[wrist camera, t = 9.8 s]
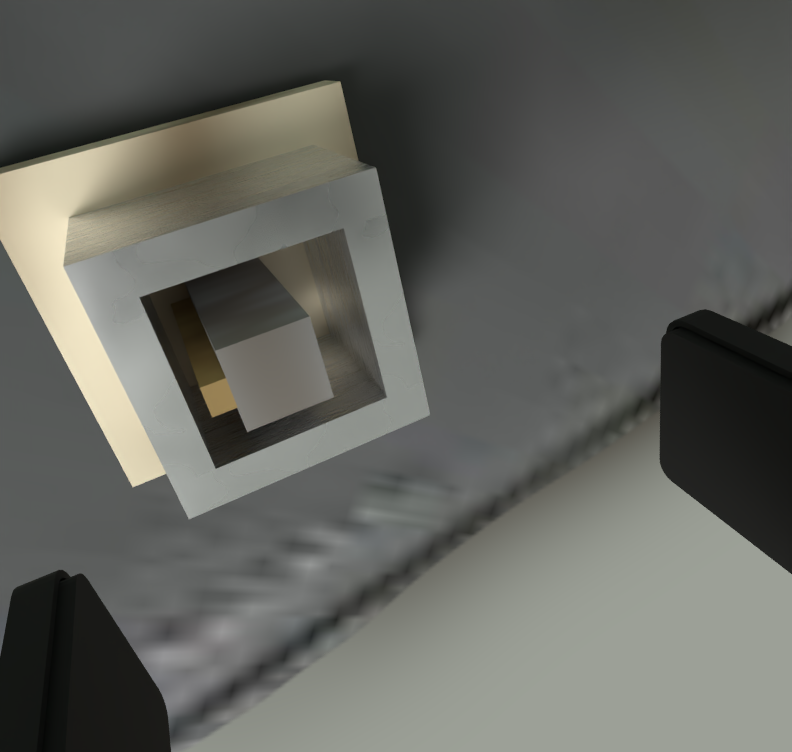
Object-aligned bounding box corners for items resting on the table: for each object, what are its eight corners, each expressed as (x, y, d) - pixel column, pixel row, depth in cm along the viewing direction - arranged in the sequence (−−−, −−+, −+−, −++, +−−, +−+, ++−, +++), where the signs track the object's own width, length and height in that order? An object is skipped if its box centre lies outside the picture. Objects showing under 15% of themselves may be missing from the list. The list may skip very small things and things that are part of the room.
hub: (313, 144, 19) (375, 167, 15) (367, 350, 23) (430, 414, 18) (68, 217, 17) (63, 266, 13) (168, 428, 21) (189, 519, 17)
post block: (324, 80, 20) (432, 88, 14) (391, 359, 25) (492, 458, 19) (-22, 173, 17) (-83, 235, 11) (130, 463, 22) (147, 617, 16)
